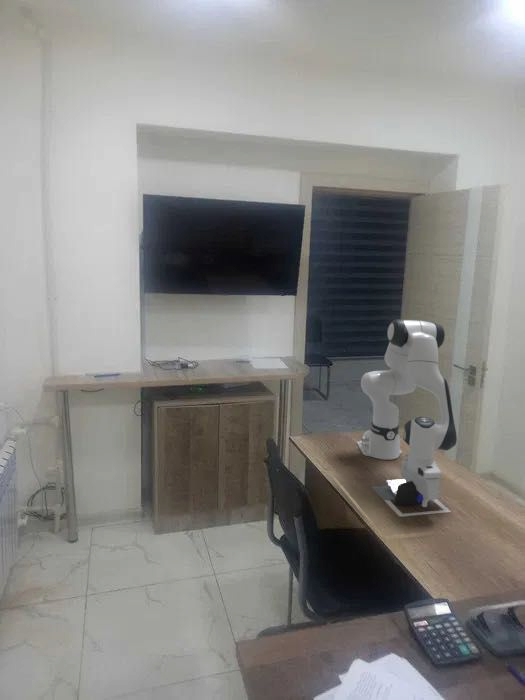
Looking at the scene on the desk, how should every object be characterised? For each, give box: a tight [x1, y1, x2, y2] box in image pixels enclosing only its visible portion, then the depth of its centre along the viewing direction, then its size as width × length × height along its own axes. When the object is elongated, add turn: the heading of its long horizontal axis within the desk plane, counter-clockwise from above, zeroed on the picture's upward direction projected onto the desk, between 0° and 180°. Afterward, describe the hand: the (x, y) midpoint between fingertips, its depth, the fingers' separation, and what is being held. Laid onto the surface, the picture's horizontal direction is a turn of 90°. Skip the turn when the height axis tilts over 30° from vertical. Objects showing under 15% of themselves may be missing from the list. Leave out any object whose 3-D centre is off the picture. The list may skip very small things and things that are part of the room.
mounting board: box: [371, 485, 452, 517], centre depth 186 cm, size 22×20×1 cm
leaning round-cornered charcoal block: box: [393, 481, 424, 507], centre depth 182 cm, size 16×5×9 cm, turn 117°
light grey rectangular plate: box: [385, 478, 406, 497], centre depth 190 cm, size 8×10×1 cm
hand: (416, 499), depth 181 cm, fingers open, 8 cm apart
